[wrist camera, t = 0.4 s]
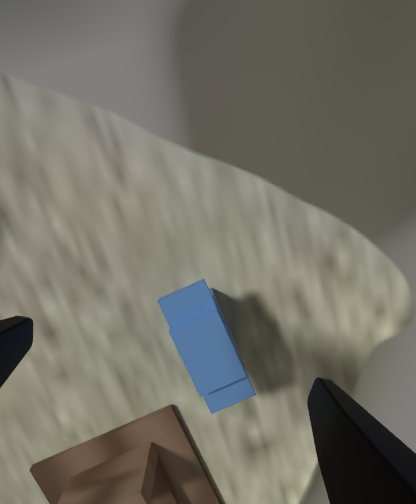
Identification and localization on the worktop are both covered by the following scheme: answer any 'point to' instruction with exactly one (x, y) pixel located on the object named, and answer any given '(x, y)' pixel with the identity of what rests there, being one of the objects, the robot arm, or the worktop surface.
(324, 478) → the robot arm
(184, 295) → the block
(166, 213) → the worktop surface
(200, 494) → the cradle
